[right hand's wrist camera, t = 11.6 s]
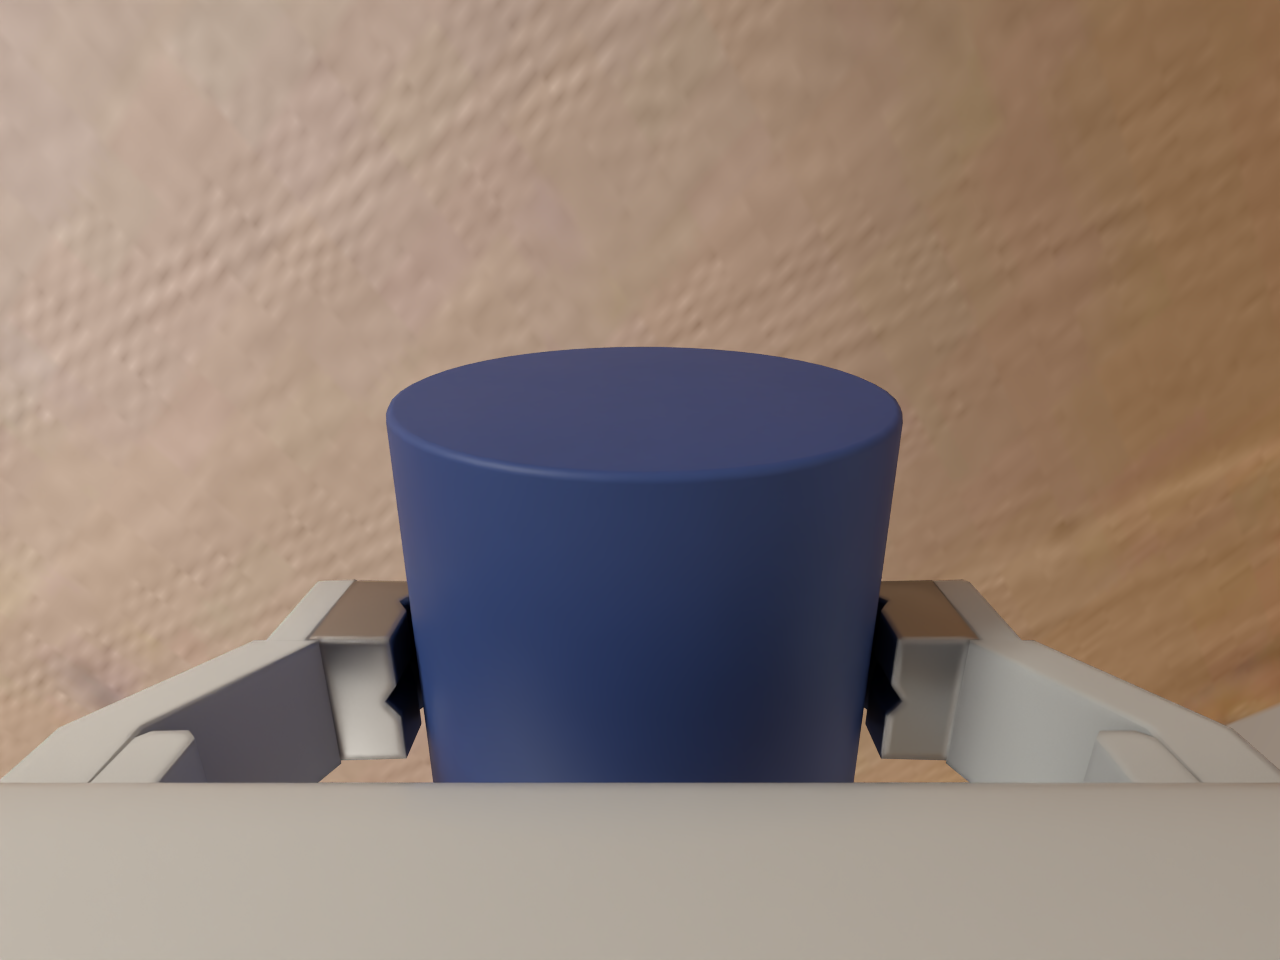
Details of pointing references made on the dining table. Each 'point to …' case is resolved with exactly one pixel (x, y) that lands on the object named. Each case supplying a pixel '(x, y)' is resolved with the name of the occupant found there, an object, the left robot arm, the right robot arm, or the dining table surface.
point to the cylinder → (643, 564)
